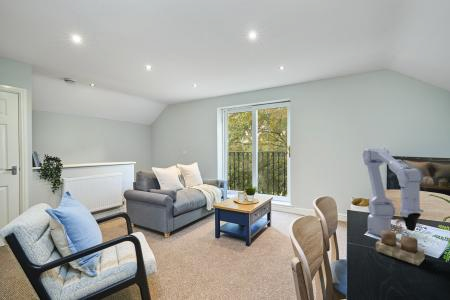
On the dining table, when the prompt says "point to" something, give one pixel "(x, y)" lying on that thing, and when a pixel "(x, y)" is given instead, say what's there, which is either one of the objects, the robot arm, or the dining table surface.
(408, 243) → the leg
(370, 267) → the dining table surface
